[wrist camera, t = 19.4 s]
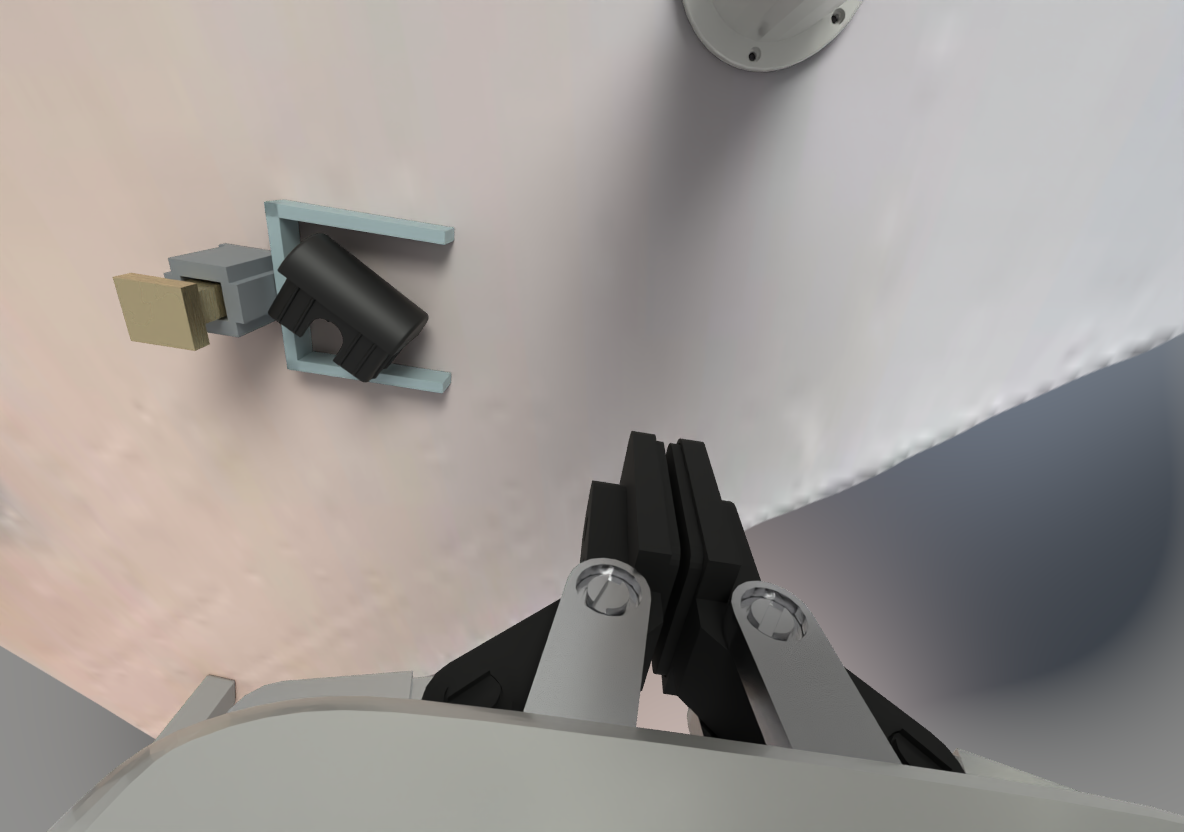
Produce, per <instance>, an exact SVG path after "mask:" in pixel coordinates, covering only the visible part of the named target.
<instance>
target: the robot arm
mask: <svg viewBox="0 0 1184 832" xmlns="http://www.w3.org/2000/svg"><path fill="white" fill-rule="evenodd" d="M682 1H683V5H684V8H685V11H686V15H687V17H688V19H689V21H690V23H691V25H692V27H693V29H694V31H695V33H696V35H697V36H698V38H699V39H700V40H701V41H702V43H703V44H704V45H705V47H706V48H707V49H708V50H709V51H710V52H712V53H713V54H714V55H715V56H716V57H718V58H719V59H720V60H722V61H723V62H725V63H727V64H729V65H731V66H733V67H735V68H739V69H743V70H747V71H752V72H770V71H775V70H779V69H784V68H788V67H790V66H792V65H795V64H797V63H799V62H801V61H804V60H805V59H807V58H809V57H810V56H812V55H814V54H815V53H817V52H818V51H820V50H821V49H822V48H823V47H825V46H826V45H827V44H828V43H829V42H831V41H832V40H833V39H834V38H835V37H836V36H837V35H838V34H839V33H840V32H841V31H842V30H843V29H844V28H845V26H846V25H847V24H848V23H849V21H850V20H851V18H852V17H853V15H854V14H855V12H856V11H857V9H858V8H859V6H860V5H861V3H862V2H863V0H682ZM833 15H834V16H836V18H837V20H836V23H835V24H833V23H832V20H831V17H832V16H833ZM750 53H754V55H755V59H754V61H750V60H749V54H750ZM651 660H652V668H653V673H654V674H659V675H662V685H663V693H664V694H670V695H676V696H678V697H679V698H680V699H681V700H682V701H683V702H684V703H685V704H686V705H687V706H688V707H689V708H688V713H687V720H688V728H689V732H690V734H683V733H676V732H668V731H661V730H653V729H645V728H638V727H636V721H637V714H638V704H639V697H640V691H642V689H643V686H644V683H645V679H646V676H647V673H648V669H649V667H650V663H651ZM47 832H1184V816H1182V815H1178V814H1175V813H1171V812H1168V811H1164V810H1160V809H1157V808H1153V807H1150V806H1145V805H1141V804H1136V803H1131V802H1126V801H1122V800H1117V799H1112V798H1108V797H1103V796H1098V795H1094V794H1088V793H1082V792H1080V791H1077V790H1074V789H1071V788H1068V787H1065V786H1063V785H1060V784H1057V783H1054V782H1052V781H1049V780H1045V779H1043V778H1040V777H1037V776H1035V775H1032V774H1029V773H1026V772H1023V771H1021V770H1018V769H1015V768H1012V767H1009V766H1006V765H1004V764H1001V763H998V762H995V761H992V760H990V759H987V758H984V757H981V756H978V755H975V754H973V753H970V752H967V751H964V750H961V749H958V748H957V749H956V750H955V751H954V752H953V753H951V752H950V750H949V749H948V748H947V747H946V746H945V745H944V744H943V743H942V742H941V741H940V740H939V739H938V738H936V737H935V736H934V735H933V734H932V733H931V732H930V731H928V730H927V729H926V728H924V727H923V726H922V725H920V724H919V723H918V722H916V721H915V720H914V719H912V718H911V717H910V716H908V715H907V714H906V713H904V712H903V711H902V710H900V709H899V708H898V707H897V706H895V705H894V704H892V703H891V702H890V701H888V700H887V699H886V698H885V697H883V696H882V695H881V694H879V693H878V692H877V691H875V690H874V689H873V688H871V687H870V686H869V685H867V684H866V683H865V682H863V681H862V680H861V679H859V678H858V677H857V676H856V675H854V674H853V673H851V672H850V671H849V670H848V669H846V668H845V667H844V666H843V664H842V663H841V661H840V659H839V658H838V656H837V654H836V653H835V651H834V649H833V648H832V646H831V644H830V643H829V641H828V639H827V638H826V636H825V634H824V633H823V631H822V629H821V628H820V626H819V624H818V623H817V621H816V619H815V617H814V616H813V614H812V613H811V612H810V610H809V609H808V608H807V606H806V605H805V604H804V603H803V602H802V601H801V600H800V599H799V598H797V597H796V596H795V595H794V594H792V593H791V592H789V591H787V590H786V589H784V588H782V587H780V586H777V585H774V584H772V583H769V582H762V581H761V580H760V577H759V574H758V571H757V568H756V565H755V562H754V559H753V556H752V553H751V550H750V547H749V544H748V542H747V539H746V536H745V533H744V530H743V527H742V524H741V521H740V518H739V515H738V512H737V509H736V507H735V505H734V503H732V502H730V501H723V500H722V499H721V496H720V493H719V490H718V486H717V483H716V480H715V477H714V473H713V470H712V467H711V464H710V460H709V457H708V454H707V451H706V447H705V444H704V442H699V441H693V440H686V439H679V440H678V442H677V444H672V443H670V444H669V445H668V448H667V452H666V454H665V448H664V443H663V442H660V441H656V436H655V435H654V434H648V433H641V432H635V431H632V432H631V434H630V438H629V442H628V447H627V452H626V456H625V461H624V466H623V471H622V475H621V480H620V485H619V484H612V483H606V482H599V481H592V484H591V489H590V494H589V500H588V505H587V511H586V517H585V524H584V531H583V538H582V548H581V558H580V564H579V565H577V566H576V567H575V568H574V569H573V570H572V571H571V573H570V575H569V577H568V579H567V582H566V585H565V588H564V591H563V594H562V597H561V599H559V600H557V601H555V602H554V603H552V604H550V605H548V606H547V607H545V608H543V609H542V610H540V611H538V612H536V613H535V614H533V615H531V616H530V617H528V618H526V619H524V620H523V621H521V622H519V623H517V624H516V625H514V626H512V627H511V628H509V629H507V630H505V631H504V632H502V633H500V634H499V635H497V636H495V637H493V638H492V639H490V640H488V641H486V642H485V643H483V644H481V645H480V646H478V647H476V648H474V649H473V650H471V651H469V652H468V653H466V654H464V655H462V656H461V657H459V658H457V659H455V660H454V661H452V662H450V663H449V664H447V665H446V666H445V667H443V668H442V669H441V670H440V671H438V672H437V673H436V674H435V675H434V676H430V677H418V678H413V671H404V672H391V673H379V674H366V675H353V676H340V677H327V678H315V679H302V680H289V681H281V682H277V683H273V684H268V685H264V686H262V687H261V688H259V689H257V690H255V691H253V692H251V693H249V694H247V695H245V696H244V697H243V698H242V699H241V700H240V701H238V702H237V703H236V704H235V705H234V706H233V707H232V708H230V709H229V710H228V712H227V713H226V714H223V715H220V716H217V717H214V718H211V719H207V720H204V721H201V722H199V723H196V724H194V725H191V726H188V727H186V728H183V729H181V730H178V731H176V732H174V733H172V734H170V735H168V736H166V737H164V738H162V739H160V740H158V741H156V742H154V743H152V744H150V745H149V746H147V747H145V748H144V749H142V750H141V751H139V752H138V753H136V754H135V755H134V756H132V757H131V758H129V759H128V760H127V761H125V762H124V763H122V764H121V765H119V766H118V767H117V768H115V769H114V770H113V771H112V772H110V773H109V774H108V775H107V776H105V777H104V778H103V779H102V780H101V781H100V782H99V783H98V784H97V785H95V786H94V787H93V788H92V789H91V790H90V791H89V792H87V793H86V794H85V795H84V796H83V797H82V798H81V799H80V800H78V801H77V802H76V803H75V804H74V805H73V806H72V807H71V808H70V809H69V810H68V811H67V812H66V813H65V814H64V815H63V816H62V817H61V818H60V819H59V820H58V821H57V822H56V823H55V824H54V825H53V826H52V827H51V828H50V829H49V830H48V831H47Z"/></svg>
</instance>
